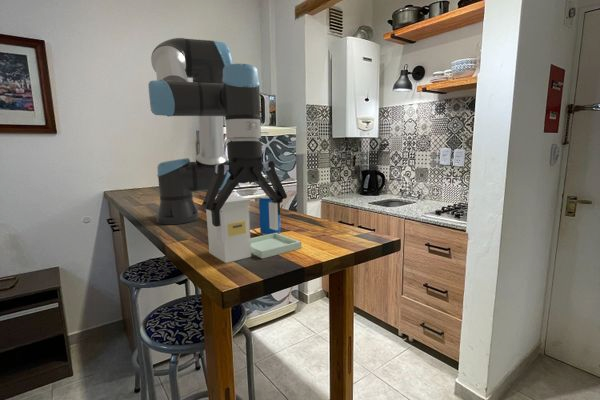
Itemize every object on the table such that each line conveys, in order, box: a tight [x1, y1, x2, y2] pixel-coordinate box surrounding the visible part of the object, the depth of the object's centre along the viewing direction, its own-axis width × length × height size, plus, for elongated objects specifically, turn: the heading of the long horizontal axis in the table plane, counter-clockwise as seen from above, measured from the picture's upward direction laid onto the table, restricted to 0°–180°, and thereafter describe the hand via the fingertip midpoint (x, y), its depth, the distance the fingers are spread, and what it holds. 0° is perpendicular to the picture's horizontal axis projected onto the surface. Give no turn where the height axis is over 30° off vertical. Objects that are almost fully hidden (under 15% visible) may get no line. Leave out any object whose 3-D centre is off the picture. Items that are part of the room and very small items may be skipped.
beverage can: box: [258, 194, 282, 236], centre depth 103 cm, size 6×6×12 cm
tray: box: [250, 233, 302, 260], centre depth 90 cm, size 12×12×2 cm
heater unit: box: [205, 194, 252, 264], centre depth 84 cm, size 11×8×15 cm
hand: (249, 234), depth 75 cm, fingers open, 13 cm apart
